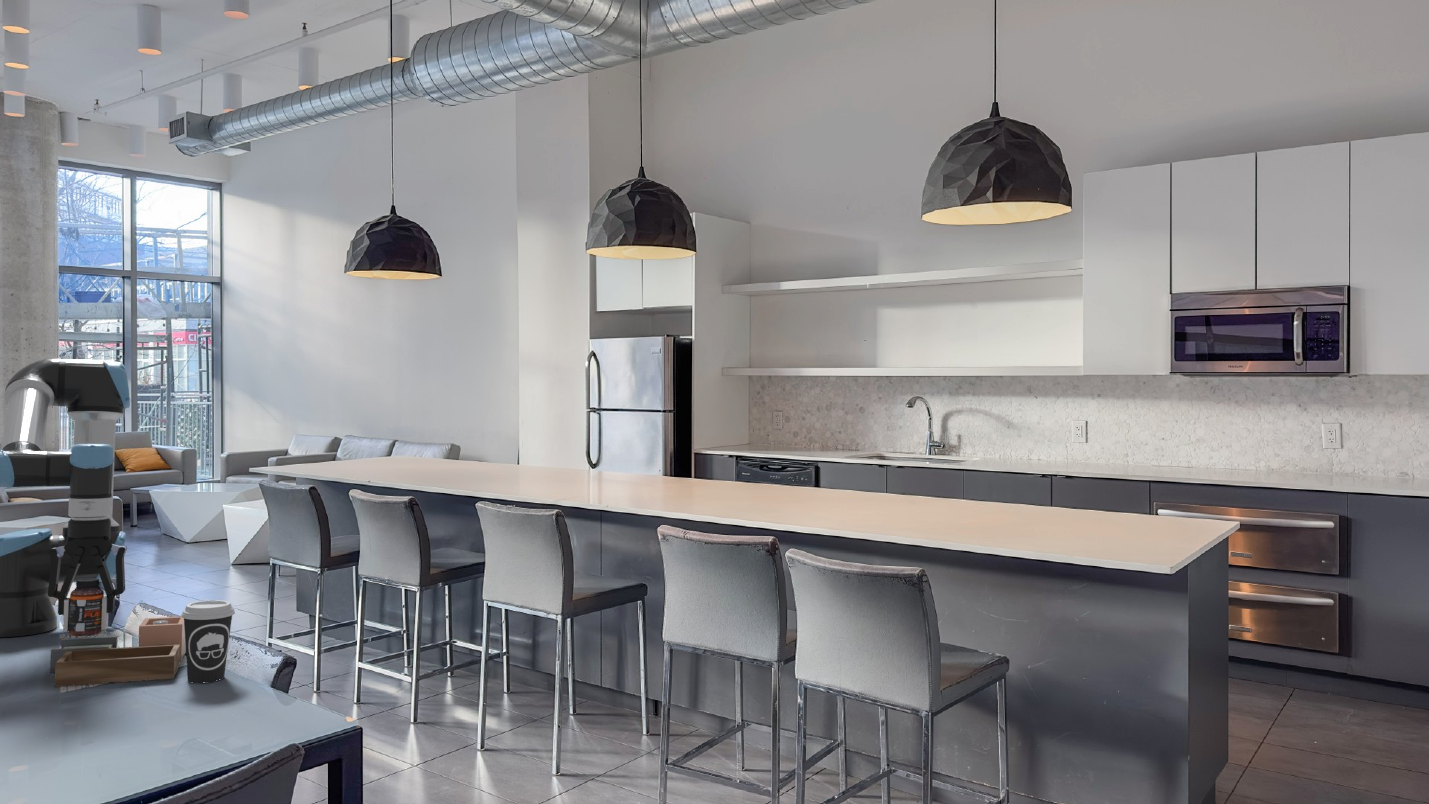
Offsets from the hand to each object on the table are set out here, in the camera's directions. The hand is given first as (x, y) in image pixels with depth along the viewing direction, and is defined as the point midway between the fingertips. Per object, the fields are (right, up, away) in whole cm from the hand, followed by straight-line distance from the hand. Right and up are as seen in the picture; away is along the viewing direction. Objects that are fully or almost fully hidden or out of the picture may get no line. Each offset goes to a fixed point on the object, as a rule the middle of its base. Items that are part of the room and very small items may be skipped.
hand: (85, 629), depth 200 cm
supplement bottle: (0, -1, 0) cm, 1 cm away
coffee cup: (+29, -8, -7) cm, 31 cm away
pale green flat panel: (0, -5, 0) cm, 5 cm away
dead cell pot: (+12, -8, +7) cm, 16 cm away
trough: (+11, -8, -7) cm, 15 cm away
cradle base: (0, -7, 0) cm, 7 cm away
